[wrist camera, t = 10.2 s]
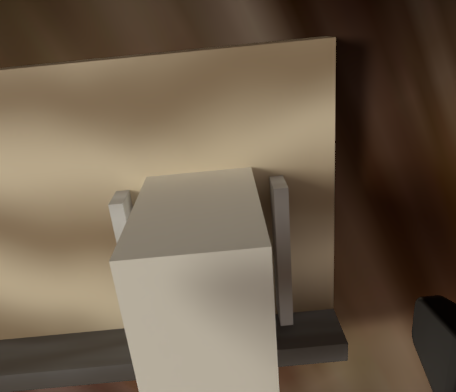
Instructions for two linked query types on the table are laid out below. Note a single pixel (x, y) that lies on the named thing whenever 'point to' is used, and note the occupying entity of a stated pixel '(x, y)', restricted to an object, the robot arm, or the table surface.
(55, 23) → the table surface
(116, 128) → the flat beige panel
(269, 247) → the carton
